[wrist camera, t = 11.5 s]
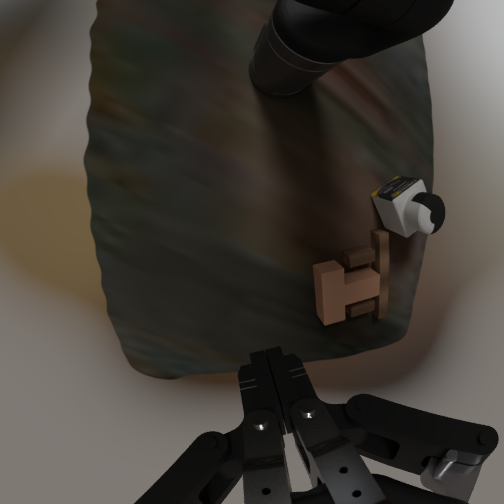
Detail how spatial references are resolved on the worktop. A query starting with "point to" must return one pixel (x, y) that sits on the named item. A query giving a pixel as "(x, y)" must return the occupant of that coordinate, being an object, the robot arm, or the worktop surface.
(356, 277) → the T block
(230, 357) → the worktop surface
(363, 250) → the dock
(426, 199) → the medicine bottle
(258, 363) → the robot arm
